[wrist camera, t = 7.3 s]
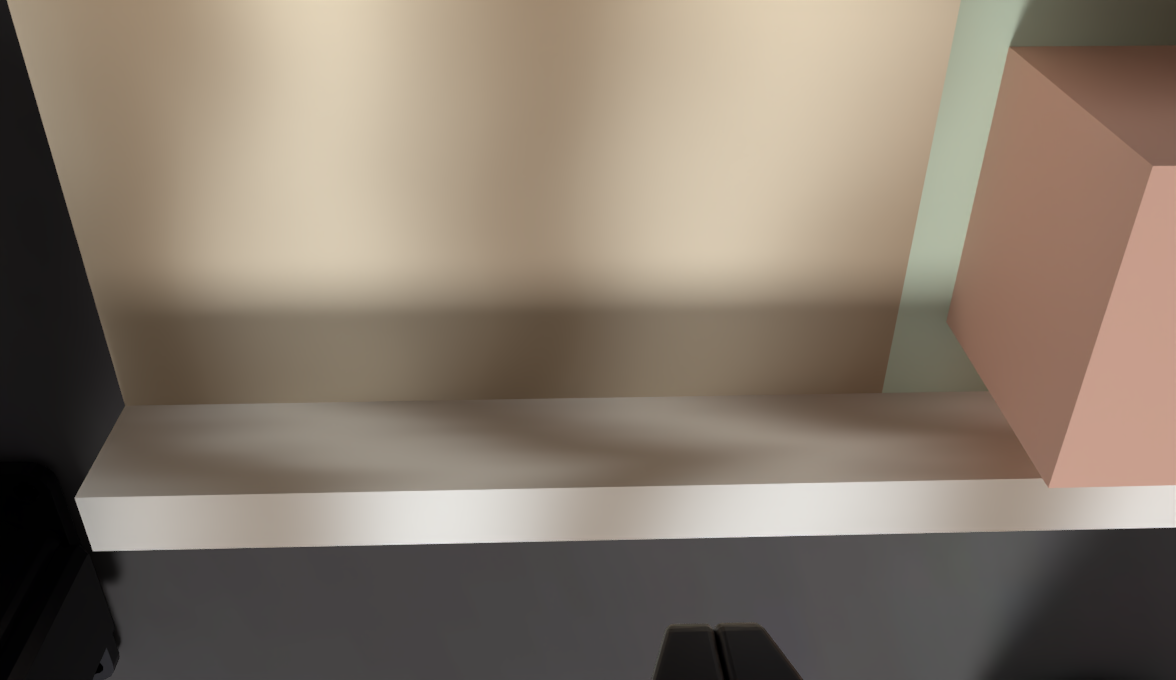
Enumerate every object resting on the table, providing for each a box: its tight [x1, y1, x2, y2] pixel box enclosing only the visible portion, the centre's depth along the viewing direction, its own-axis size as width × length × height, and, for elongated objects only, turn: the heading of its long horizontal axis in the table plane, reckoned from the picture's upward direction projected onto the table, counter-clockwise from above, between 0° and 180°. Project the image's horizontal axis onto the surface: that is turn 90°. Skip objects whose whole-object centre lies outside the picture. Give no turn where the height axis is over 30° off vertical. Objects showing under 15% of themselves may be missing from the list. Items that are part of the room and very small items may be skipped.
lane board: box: [7, 0, 1176, 551], centre depth 17 cm, size 30×12×4 cm, turn 90°
